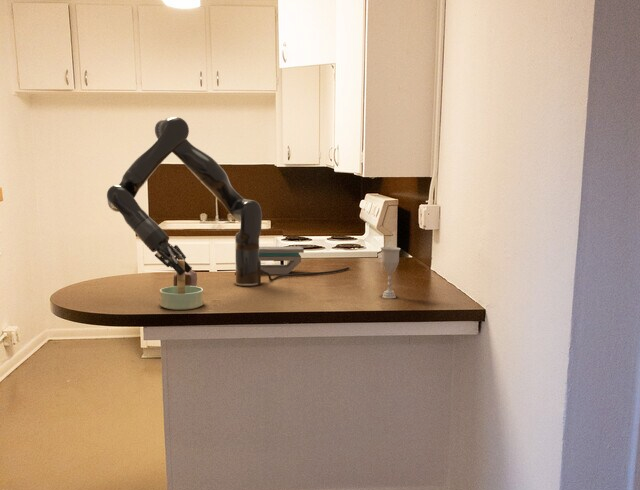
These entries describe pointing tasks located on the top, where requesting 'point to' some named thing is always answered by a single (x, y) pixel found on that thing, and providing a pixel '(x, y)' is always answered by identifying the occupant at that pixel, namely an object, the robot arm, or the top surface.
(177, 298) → the bowl
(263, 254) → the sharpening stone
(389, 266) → the chalice
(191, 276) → the food item
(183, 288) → the wooden bolt
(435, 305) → the top surface
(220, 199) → the robot arm
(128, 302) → the top surface
